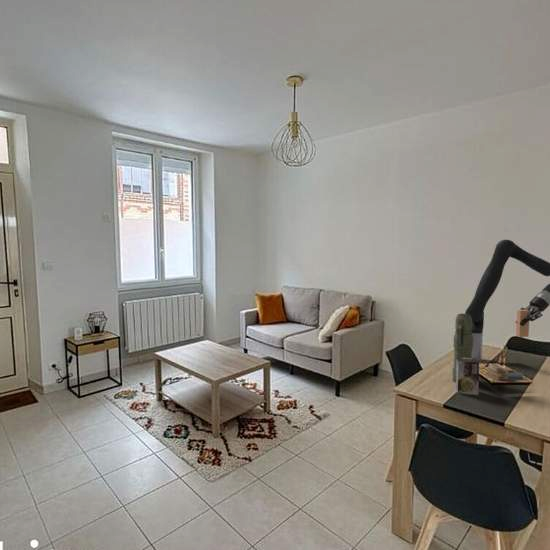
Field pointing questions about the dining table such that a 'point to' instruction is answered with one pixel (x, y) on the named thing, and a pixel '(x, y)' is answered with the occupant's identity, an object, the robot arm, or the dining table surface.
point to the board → (522, 330)
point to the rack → (512, 376)
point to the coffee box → (467, 375)
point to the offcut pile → (497, 371)
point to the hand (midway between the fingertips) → (519, 324)
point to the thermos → (462, 339)
